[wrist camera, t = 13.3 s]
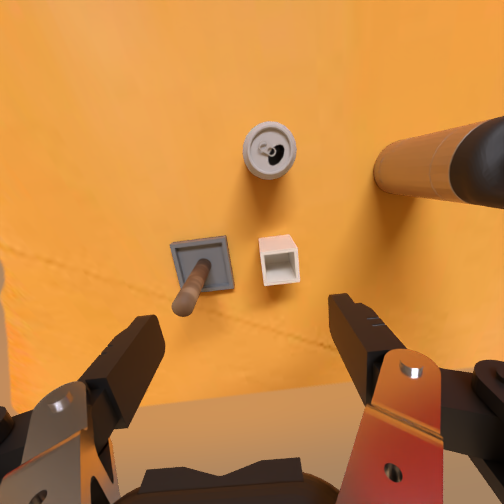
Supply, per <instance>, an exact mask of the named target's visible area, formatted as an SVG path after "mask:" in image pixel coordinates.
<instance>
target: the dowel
mask: <svg viewBox="0 0 504 504" xmlns="http://www.w3.org/2000/svg"><path fill="white" fill-rule="evenodd" d="M210 269H211V262H210V261H209V260H208V259H205V258H202V259H200V260H199V261H198V262H197V264H196V265H195V267H194V269H193V270H192V272H191V273H190V275H189V277H188V278H187V280H186V282H185V283H184V285H183V287H182V288H181V290H180V292H179V293H178V295H177V297H176V298H175V300H174V301H173V303H172V310H173V312H174V313H175V314H176V315H178V316H181V317H186V316H189V315H190V314H191V313H192V311H193V309H194V306H195V304H196V302H197V299H198V297H199V295H200V292H201V290H202V288H203V285H204V283H205V281H206V278H207V276H208V274H209V271H210Z"/></svg>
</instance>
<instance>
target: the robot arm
mask: <svg viewBox="0 0 504 504" xmlns="http://www.w3.org/2000/svg"><path fill="white" fill-rule="evenodd" d="M374 178H375V181H376V183H377V185H378V186H379V187H380V188H381V189H382V190H383V191H385V192H388V193H391V194H399V195H406V196H413V197H420V198H428V199H435V200H443V201H450V202H459V203H466V204H474V205H482V206H487V207H493V208H499V209H504V116H503V117H498V118H494V119H490V120H486V121H482V122H478V123H473V124H469V125H465V126H461V127H457V128H452V129H448V130H444V131H439V132H435V133H431V134H426V135H422V136H418V137H413V138H408V139H404V140H400V141H397V142H394V143H392V144H390V145H389V146H387V147H386V148H385V149H384V150H383V151H382V152H381V153H380V155H379V156H378V158H377V160H376V163H375V167H374ZM328 305H329V327H330V333H331V336H332V339H333V341H334V343H335V345H336V347H337V349H338V351H339V353H340V355H341V358H342V360H343V362H344V364H345V366H346V368H347V370H348V372H349V374H350V376H351V378H352V380H353V382H354V385H355V387H356V389H357V391H358V393H359V395H360V397H361V399H362V401H363V403H364V405H365V410H364V413H363V416H362V419H361V423H360V426H359V429H358V432H357V436H356V439H355V442H354V446H353V449H352V452H351V456H350V459H349V462H348V466H347V469H346V472H345V475H344V478H343V481H342V485H341V488H340V491H339V490H338V489H337V488H335V487H334V486H333V485H331V484H330V483H328V482H326V481H324V480H322V479H321V478H318V477H316V476H314V475H311V474H307V473H304V472H302V469H301V462H300V458H299V457H298V458H286V459H274V460H261V461H259V462H256V463H254V464H251V465H249V466H246V467H244V468H241V469H239V470H236V471H234V472H231V473H229V474H226V475H223V476H216V475H212V474H208V473H204V472H200V471H197V470H193V469H190V468H186V467H175V468H162V469H150V470H146V473H145V476H144V478H143V481H142V484H141V487H139V488H136V489H134V490H133V491H131V492H129V493H127V494H126V495H124V496H123V497H121V496H120V492H119V486H118V479H117V473H116V466H115V459H114V452H113V445H112V441H111V439H110V435H111V433H112V432H113V430H114V429H123V428H128V427H129V424H130V422H131V421H132V418H133V417H134V415H135V413H136V411H137V409H138V407H139V404H140V402H141V400H142V398H143V396H144V394H145V392H146V390H147V388H148V386H149V384H150V382H151V380H152V378H153V376H154V374H155V372H156V370H157V368H158V366H159V364H160V362H161V360H162V358H163V356H164V353H165V341H164V338H163V335H162V331H161V328H160V325H159V321H158V318H157V317H156V315H146V316H138V317H136V318H135V319H134V321H133V322H132V323H131V324H130V326H129V327H128V328H127V329H125V330H124V331H122V332H121V333H119V334H118V335H117V336H115V337H114V339H113V340H112V341H111V342H110V343H109V344H108V347H106V348H105V349H104V350H103V351H102V353H101V355H99V356H98V357H97V359H96V360H95V361H94V362H93V363H92V364H91V366H90V367H89V368H88V369H87V370H86V371H85V373H84V374H83V375H82V376H81V377H80V378H79V380H78V381H76V382H71V383H68V384H65V385H63V386H60V387H59V388H57V389H55V390H53V391H52V392H50V393H49V394H48V395H46V396H45V397H44V398H43V399H42V400H41V401H40V402H39V403H38V404H37V405H36V407H35V408H34V409H33V410H31V411H28V412H25V413H22V414H19V415H16V416H13V417H11V416H10V415H9V413H8V412H7V410H6V408H5V407H1V406H0V504H443V449H445V450H449V451H454V452H457V453H461V454H465V455H468V456H469V458H470V459H471V460H472V462H473V463H474V465H475V466H476V467H477V469H478V470H479V472H480V473H481V474H482V476H483V477H484V479H485V480H486V481H487V483H488V485H489V486H490V487H491V488H492V490H493V491H494V493H495V494H496V496H497V497H498V499H499V500H500V501H501V503H502V504H504V362H502V361H497V360H483V361H479V362H478V363H476V365H475V367H474V371H473V373H469V372H462V371H455V370H448V369H442V368H438V366H437V365H436V364H435V363H434V362H433V361H432V360H431V359H430V358H428V357H427V356H425V355H423V354H421V353H419V352H416V351H413V350H409V349H407V348H406V347H405V346H404V345H403V344H402V343H401V342H400V340H399V339H398V338H397V337H396V336H395V335H394V334H393V332H392V331H391V330H390V329H389V328H388V327H387V326H386V325H385V324H384V322H383V321H382V320H381V319H380V318H379V317H378V315H377V314H376V313H375V312H374V311H373V310H372V309H371V308H369V307H368V306H366V305H364V304H362V303H354V302H353V300H352V299H351V298H350V296H349V295H348V294H347V293H343V294H334V295H329V297H328Z"/></svg>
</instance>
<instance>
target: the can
mask: <svg viewBox="0 0 504 504" xmlns="http://www.w3.org/2000/svg"><path fill="white" fill-rule="evenodd" d="M296 150H297V149H296V143H295V139H294V137H293V135H292V133H291V132H290V131H289V130H288V129H287V128H286V127H285V126H284V125H282V124H280V123H278V122H270V121H268V122H264V123H260V124H258V125H257V126H255V127H254V128H252V129H251V131H250V132H249V133H248V135H247V136H246V139H245V141H244V144H243V157H244V162H245V164H246V166H247V167H248V169H249V171H250V172H251V173H252V174H253V175H254V176H257V177H259V178H261V179H267V180H272V179H276V178H279V177H281V176H283V175H284V174H286V173H287V172H288V171H289V169H290V168H291V167H292V165H293V163H294V161H295V158H296Z"/></svg>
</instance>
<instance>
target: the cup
mask: <svg viewBox="0 0 504 504" xmlns="http://www.w3.org/2000/svg"><path fill="white" fill-rule="evenodd" d="M259 248H260V257H261V265H262V273H263V281H264V286H269V285H277V284H286V283H294V282H300V275H299V261H298V248H297V246H296V244H295V243H294V241H293V240H292V238H291V236H290V235H289V234H288V235H280V236H272V237H264V238H259Z"/></svg>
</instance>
